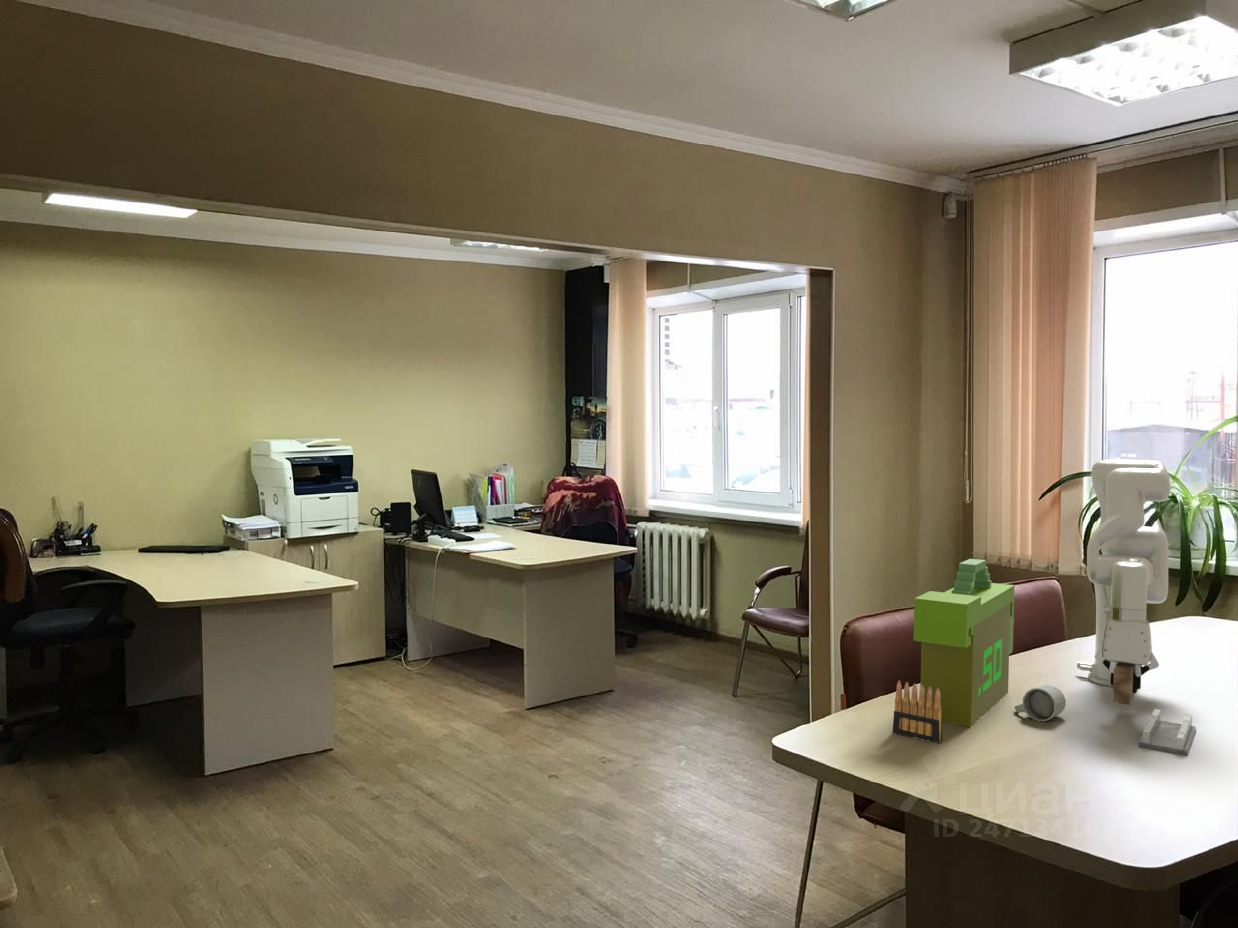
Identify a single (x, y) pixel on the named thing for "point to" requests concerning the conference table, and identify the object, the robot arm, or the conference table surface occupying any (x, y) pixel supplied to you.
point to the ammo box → (966, 643)
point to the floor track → (1168, 734)
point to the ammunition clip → (918, 714)
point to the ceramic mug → (1042, 703)
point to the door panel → (1123, 683)
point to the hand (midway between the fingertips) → (1125, 689)
